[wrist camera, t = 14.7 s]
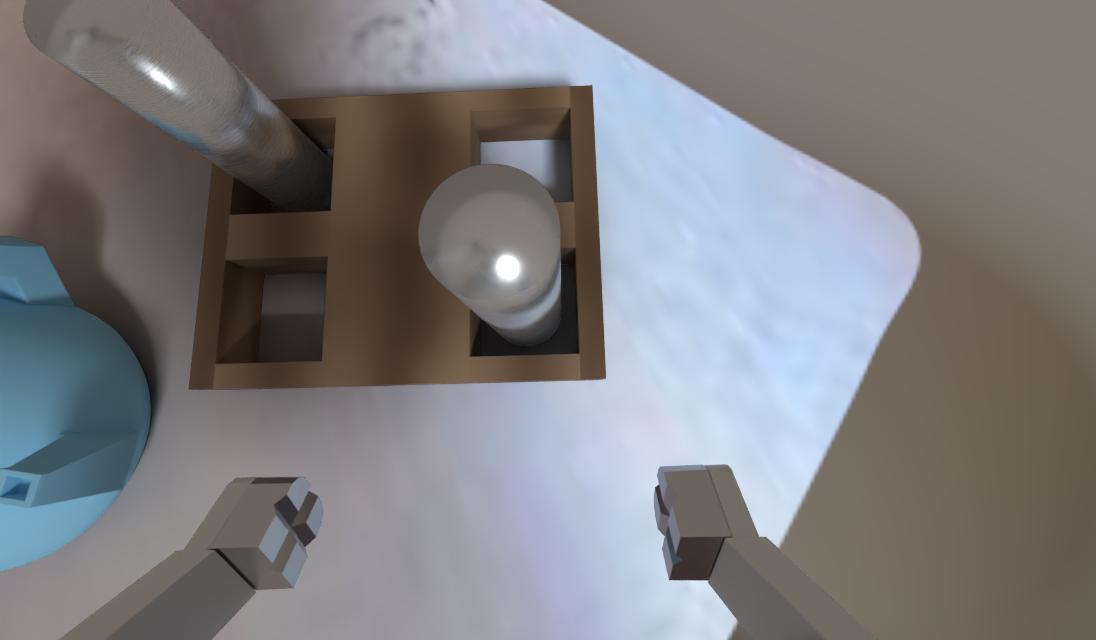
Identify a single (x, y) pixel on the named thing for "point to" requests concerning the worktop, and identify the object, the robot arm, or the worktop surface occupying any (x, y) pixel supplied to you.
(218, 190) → the socket board
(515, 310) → the pin
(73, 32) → the pin
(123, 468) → the teapot
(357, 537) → the worktop surface
